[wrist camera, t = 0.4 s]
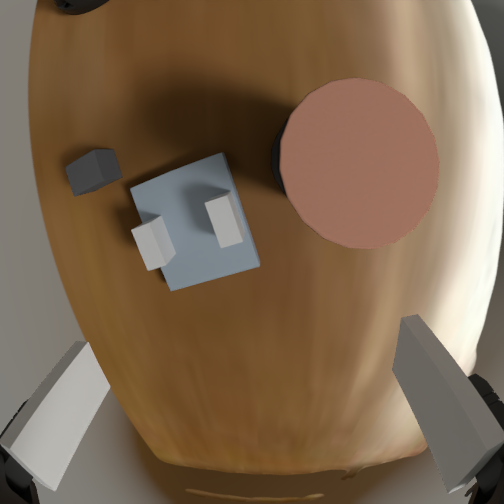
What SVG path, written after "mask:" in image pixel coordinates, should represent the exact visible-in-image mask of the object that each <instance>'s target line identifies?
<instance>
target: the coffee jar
mask: <svg viewBox="0 0 504 504" xmlns="http://www.w3.org/2000/svg"><path fill="white" fill-rule="evenodd" d="M271 167H272V170H273V174H274V177H275V180H276V181H277V183H278V184H279V186H280V188H281V189H282V191H283V192H284V194H285V195H286V197H287V198H288V200H289V201H290V203H291V204H292V206H293V207H294V209H295V211H296V212H297V213H298V215H299V217H300V218H301V220H302V221H303V222H304V223H305V224H306V225H308V226H309V227H310V228H311V229H313V230H314V231H315V232H316V233H317V234H319V235H320V236H321V237H322V238H323V239H326V240H329V241H331V242H334V243H336V244H339V245H341V246H344V247H346V248H362V249H374V248H377V247H381V246H384V245H388V244H391V243H394V242H396V241H398V240H399V239H401V238H402V237H404V236H405V235H406V234H408V233H409V232H411V231H412V230H414V229H415V228H416V226H417V225H418V224H419V222H420V221H421V220H422V219H423V217H424V216H425V215H426V213H427V212H428V211H429V209H430V206H431V204H432V201H433V198H434V196H435V193H436V190H437V187H438V177H439V157H438V152H437V147H436V142H435V138H434V135H433V133H432V131H431V129H430V127H429V125H428V123H427V122H426V120H425V118H424V116H423V114H422V113H421V112H420V111H419V110H418V109H417V108H416V107H415V105H414V104H413V103H412V102H411V101H410V100H409V99H408V98H407V97H406V96H405V95H403V94H401V93H400V92H398V91H396V90H395V89H393V88H391V87H389V86H388V85H386V84H384V83H381V82H377V81H372V80H367V79H362V78H357V77H356V78H349V79H342V80H335V81H330V82H328V83H326V84H325V85H323V86H321V87H319V88H317V89H315V90H314V91H312V92H310V93H308V94H307V95H306V96H305V98H304V99H303V100H302V101H301V102H300V103H299V105H298V106H297V107H296V108H295V109H294V111H293V112H292V113H291V114H290V116H289V118H288V119H287V120H286V122H285V123H284V125H283V127H282V128H281V130H280V132H279V133H278V135H277V137H276V139H275V142H274V144H273V147H272V150H271Z"/></svg>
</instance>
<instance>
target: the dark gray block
mask: <svg viewBox="0 0 504 504" xmlns="http://www.w3.org/2000/svg"><path fill="white" fill-rule="evenodd" d="M65 169H66V172H67V176H68V179H69V182H70V186H71V189H72V192H73V195H74V197H75V196H78V195H82V194H85V193H89V192H93V191H96V190H97V189H99V188H101V187H103V186H105V185H107V184H109V183H111V182H113V181H115V180H117V179H119V178H122V174H121V171H120V168H119V165H118V162H117V159H116V155H115V152H114V149H94V150H92V151H91V152H89V153H87V154H86V155H84V156H82V157H81V158H79V159H77V160H76V161H74V162H72V163H71V164H69V165H68V166H66V167H65Z"/></svg>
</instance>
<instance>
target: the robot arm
mask: <svg viewBox="0 0 504 504" xmlns="http://www.w3.org/2000/svg"><path fill="white" fill-rule="evenodd" d="M53 1H54V3H55V5H56V6H57V7H58V8H59V9H60V10H62V11H64V12H66V13H68V14H71V15H77V14H82V13H86V12H89V11H91V10H93V9H95V8H97V7H99V6H101V5H103V4H104V3H106V2H107V1H109V0H53ZM392 371H393V372H394V374H395V376H396V378H397V380H398V382H399V384H400V386H401V388H402V390H403V392H404V394H405V396H406V398H407V400H408V403H409V405H410V407H411V409H412V411H413V413H414V415H415V417H416V419H417V422H418V424H419V426H420V428H421V430H422V433H423V435H424V437H425V439H426V441H427V444H428V446H429V448H430V451H431V453H432V455H433V458H434V460H435V463H436V465H437V467H438V470H439V472H440V475H441V477H442V480H443V482H444V485H445V488H446V490H447V493H448V494H449V493H451V492H453V491H455V490H457V489H459V488H461V487H463V486H465V485H467V484H468V483H469V482H470V481H471V480H472V479H473V478H474V477H476V479H477V483H475V484H474V485H473V486H472V487H471V488H470V489H469V490H468V491H467V493H466V494H465V496H466V497H467V496H468V495H469V494H470V493H471V492H472V495H471V498H470V500H469V503H468V504H504V404H503V403H502V401H500V398H499V397H498V395H497V394H496V393H494V390H493V389H492V387H491V386H490V385H489V383H488V382H487V381H486V380H485V379H483V378H482V377H480V376H479V375H477V374H474V375H471V376H469V377H467V376H466V375H465V373H464V372H463V371H462V369H461V368H460V367H459V365H458V364H457V363H456V361H455V360H454V359H453V357H452V356H451V355H450V354H449V352H448V351H447V350H446V348H445V347H444V346H443V345H442V343H441V342H440V341H439V340H438V338H437V337H436V336H435V335H434V333H433V332H432V331H431V330H430V328H429V327H428V326H427V325H426V324H425V322H424V321H423V320H422V319H421V318H420V316H419V315H418V314H417V315H412V316H407V317H403V318H401V323H400V330H399V336H398V342H397V348H396V353H395V358H394V363H393V368H392ZM109 389H110V385H109V383H108V381H107V379H106V377H105V375H104V374H103V372H102V370H101V368H100V366H99V364H98V362H97V360H96V358H95V356H94V353H93V351H92V349H91V347H90V345H89V343H88V342H80V341H76V342H75V343H74V344H73V345H72V347H71V348H70V349H69V350H68V351H67V353H66V354H65V355H64V356H63V357H62V359H61V360H60V361H59V362H58V364H57V365H56V366H55V367H54V368H53V369H52V371H51V372H50V373H49V374H48V376H47V377H46V378H45V379H44V381H43V382H42V383H41V384H40V386H39V387H38V388H37V389H36V391H35V392H34V393H33V395H32V396H31V397H30V398H29V399H28V400H27V401H25V402H24V403H23V404H22V406H21V407H20V408H19V410H18V413H16V414H15V415H14V416H13V419H11V421H10V422H9V423H8V425H7V426H6V428H5V429H4V430H3V432H2V434H1V435H0V504H40V503H39V499H38V494H37V489H36V486H35V483H34V482H33V481H32V479H33V477H34V478H35V479H36V480H37V481H39V482H40V483H41V484H42V485H44V486H46V487H47V488H49V489H51V490H53V491H56V489H57V487H58V485H59V483H60V480H61V478H62V476H63V474H64V472H65V470H66V468H67V466H68V464H69V462H70V460H71V458H72V456H73V454H74V453H75V451H76V449H77V447H78V445H79V443H80V441H81V439H82V437H83V435H84V433H85V432H86V430H87V428H88V426H89V424H90V422H91V421H92V419H93V417H94V415H95V413H96V411H97V410H98V408H99V406H100V404H101V403H102V401H103V399H104V397H105V395H106V394H107V392H108V390H109Z"/></svg>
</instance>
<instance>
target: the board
mask: <svg viewBox="0 0 504 504" xmlns="http://www.w3.org/2000/svg"><path fill="white" fill-rule="evenodd" d="M130 190H131V193H132V196H133V199H134V202H135V204H136V207H137V210H138V213H139V215H140V218H141V221H142V224H140V225H139V226H137V227H135V228H134V229H132V230H131V231H132V233H133V236H134V238H135V241H136V243H137V246H138V248H139V251H140V253H141V255H142V258H143V260H144V263H145V265H146V267H147V269H148V271H149V270H153V269H156V268H159V267H161V270H162V272H163V274H164V277H165V279H166V281H167V284H168V286H169V288H170V290H171V291H173V290H177V289H180V288H184V287H187V286H191V285H195V284H198V283H202V282H206V281H209V280H213V279H216V278H220V277H223V276H227V275H230V274H234V273H238V272H241V271H245V270H248V269H252V268H255V267H259V266H260V259H259V256H258V253H257V250H256V247H255V244H254V241H253V238H252V235H251V232H250V229H249V226H248V223H247V220H246V217H245V214H244V211H243V208H242V205H241V202H240V199H239V196H238V193H237V190H236V187H235V184H234V181H233V178H232V175H231V172H230V169H229V166H228V163H227V160H226V157H225V154H224V153H222V152H221V153H218V154H216V155H213V156H210V157H207V158H204V159H202V160H199V161H196V162H194V163H191V164H188V165H186V166H183V167H181V168H178V169H175V170H173V171H170V172H168V173H165V174H163V175H161V176H158V177H156V178H153V179H151V180H149V181H146V182H144V183H142V184H140V185H137V186H135V187H133V188H131V189H130Z"/></svg>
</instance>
